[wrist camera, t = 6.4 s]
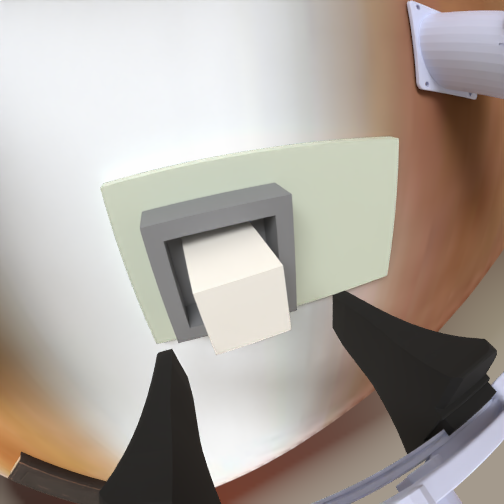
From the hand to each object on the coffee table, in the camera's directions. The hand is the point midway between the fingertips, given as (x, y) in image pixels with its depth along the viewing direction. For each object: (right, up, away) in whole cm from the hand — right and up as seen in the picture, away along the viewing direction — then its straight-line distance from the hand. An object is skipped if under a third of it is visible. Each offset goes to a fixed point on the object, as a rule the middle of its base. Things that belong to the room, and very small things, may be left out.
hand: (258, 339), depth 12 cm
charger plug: (-2, +3, +6) cm, 8 cm away
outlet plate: (+1, +5, +8) cm, 10 cm away
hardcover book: (-32, -37, +20) cm, 53 cm away
